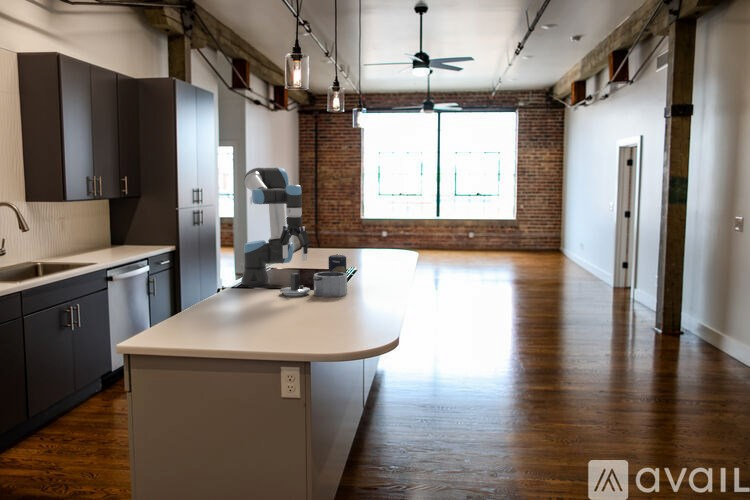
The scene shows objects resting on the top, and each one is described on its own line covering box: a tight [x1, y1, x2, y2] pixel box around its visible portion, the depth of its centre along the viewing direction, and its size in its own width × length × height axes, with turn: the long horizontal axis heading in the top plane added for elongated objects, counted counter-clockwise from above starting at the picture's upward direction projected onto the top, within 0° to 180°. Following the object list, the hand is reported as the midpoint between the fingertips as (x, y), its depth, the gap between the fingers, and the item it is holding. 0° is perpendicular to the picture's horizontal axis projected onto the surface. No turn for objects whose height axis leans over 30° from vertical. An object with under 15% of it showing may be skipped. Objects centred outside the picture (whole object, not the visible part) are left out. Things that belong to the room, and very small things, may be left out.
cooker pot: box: [312, 271, 348, 298], centre depth 302 cm, size 16×22×10 cm
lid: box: [279, 272, 311, 298], centre depth 301 cm, size 15×15×11 cm
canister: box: [328, 253, 348, 274], centre depth 320 cm, size 10×10×18 cm
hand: (294, 259), depth 299 cm, fingers open, 13 cm apart
